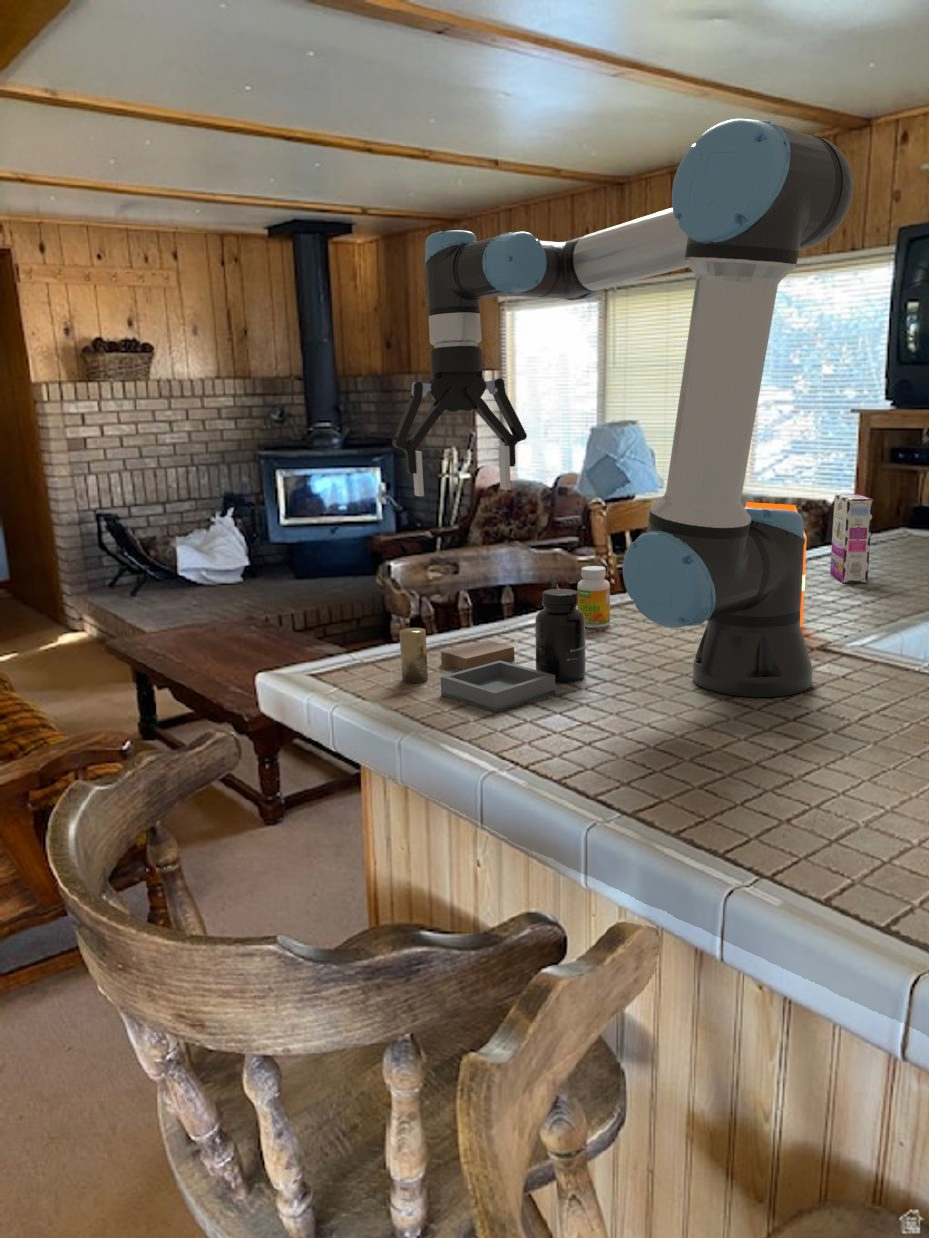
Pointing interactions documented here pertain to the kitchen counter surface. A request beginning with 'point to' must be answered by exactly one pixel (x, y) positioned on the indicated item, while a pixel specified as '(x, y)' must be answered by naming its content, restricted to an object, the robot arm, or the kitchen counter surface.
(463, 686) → the tray
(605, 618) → the supplement bottle
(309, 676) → the kitchen counter surface
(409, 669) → the cylinder
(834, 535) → the candy bar box
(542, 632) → the supplement bottle
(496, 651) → the tan cardboard box
